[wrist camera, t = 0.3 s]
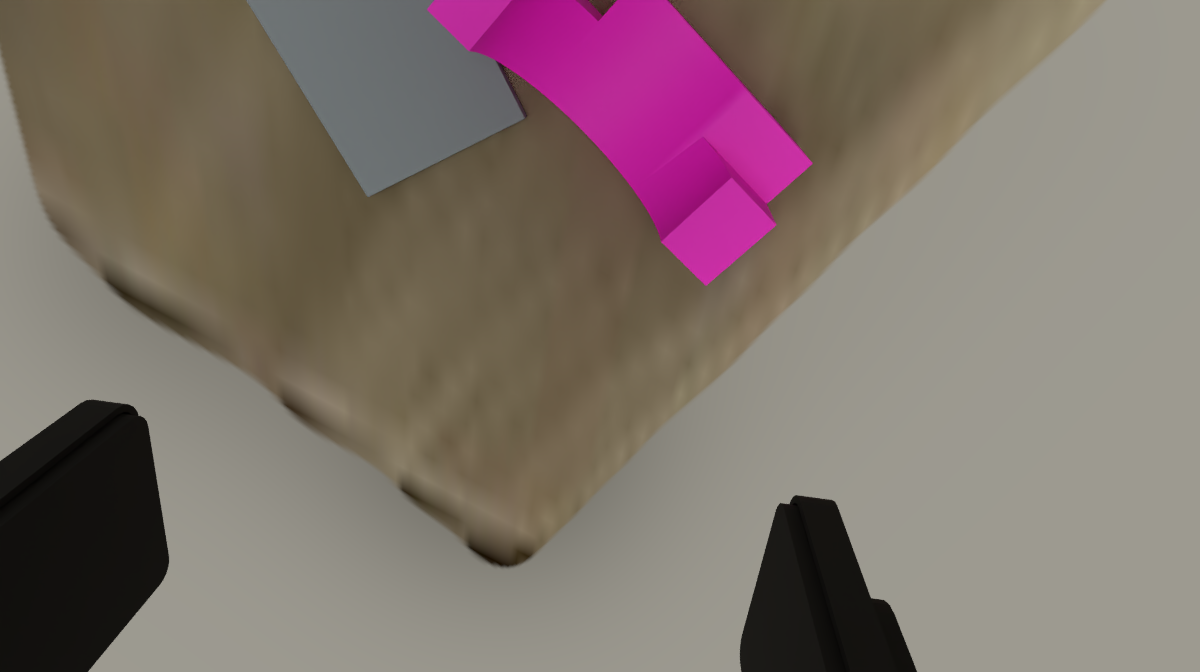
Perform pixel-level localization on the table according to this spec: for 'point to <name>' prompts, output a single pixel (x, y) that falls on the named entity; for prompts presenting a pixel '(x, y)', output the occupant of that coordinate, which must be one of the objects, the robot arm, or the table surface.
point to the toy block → (648, 112)
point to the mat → (389, 82)
